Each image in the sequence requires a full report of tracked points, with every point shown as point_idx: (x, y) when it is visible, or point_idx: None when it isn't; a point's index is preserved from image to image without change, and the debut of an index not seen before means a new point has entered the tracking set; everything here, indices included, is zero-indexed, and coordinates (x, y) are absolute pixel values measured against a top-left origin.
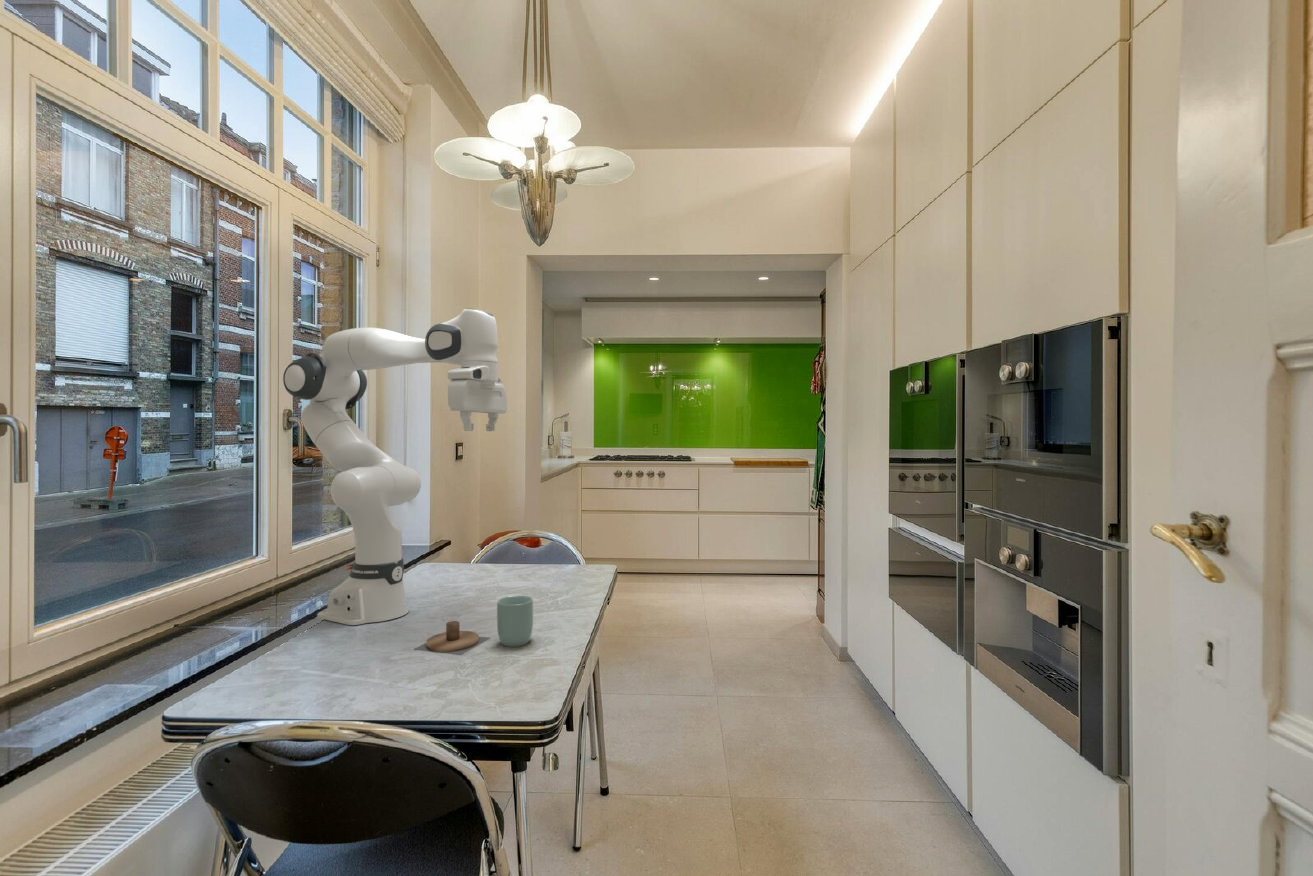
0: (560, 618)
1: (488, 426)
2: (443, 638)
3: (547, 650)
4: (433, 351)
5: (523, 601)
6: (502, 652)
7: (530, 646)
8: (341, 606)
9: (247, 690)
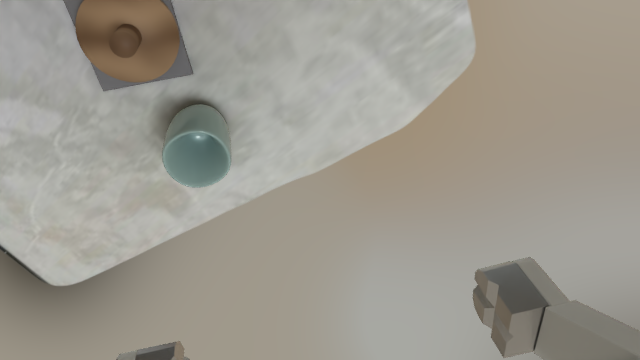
0: (346, 101)
1: (495, 314)
2: (117, 17)
3: None
4: None
5: (223, 153)
6: (164, 128)
7: None
8: None
9: None
